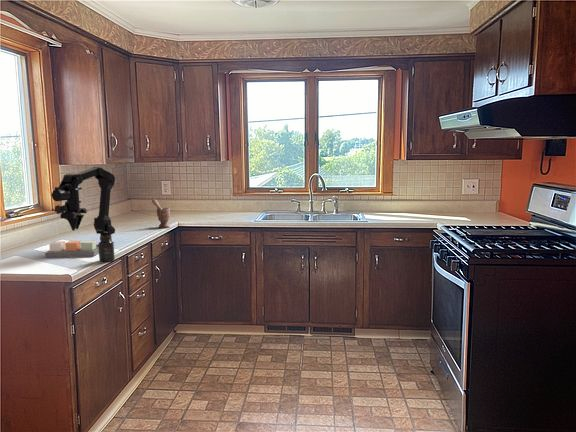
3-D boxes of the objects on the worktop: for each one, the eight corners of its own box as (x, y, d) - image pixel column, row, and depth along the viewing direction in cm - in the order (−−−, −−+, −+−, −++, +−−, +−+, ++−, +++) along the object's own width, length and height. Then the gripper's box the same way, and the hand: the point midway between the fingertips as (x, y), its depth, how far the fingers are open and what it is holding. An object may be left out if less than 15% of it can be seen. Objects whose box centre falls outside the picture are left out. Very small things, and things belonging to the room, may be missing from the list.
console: (54, 252, 226) (53, 248, 226) (100, 251, 228) (100, 247, 228) (45, 257, 217) (45, 252, 216) (94, 256, 219) (93, 251, 218)
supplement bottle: (116, 258, 214) (115, 234, 212) (111, 262, 207) (110, 237, 205) (102, 259, 214) (100, 234, 212) (96, 262, 207) (95, 237, 205)
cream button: (54, 249, 224) (54, 241, 223) (65, 248, 224) (65, 241, 224) (49, 251, 219) (49, 243, 218) (61, 251, 219) (60, 243, 218)
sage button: (85, 248, 225) (84, 240, 225) (96, 248, 226) (95, 240, 225) (81, 250, 220) (80, 242, 219) (92, 250, 220) (92, 242, 220)
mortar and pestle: (161, 229, 292) (160, 199, 289) (151, 228, 296) (150, 199, 293) (173, 227, 302) (172, 197, 299) (163, 226, 306) (162, 197, 303)
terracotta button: (70, 248, 225) (69, 241, 224) (81, 248, 225) (80, 240, 224) (65, 251, 219) (65, 243, 219) (77, 250, 220) (76, 243, 219)
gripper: (63, 197, 231) (66, 226, 233) (47, 201, 212) (50, 233, 215) (86, 197, 232) (88, 226, 234) (72, 201, 213) (74, 233, 216)
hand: (75, 229), depth 225 cm, fingers open, 4 cm apart
